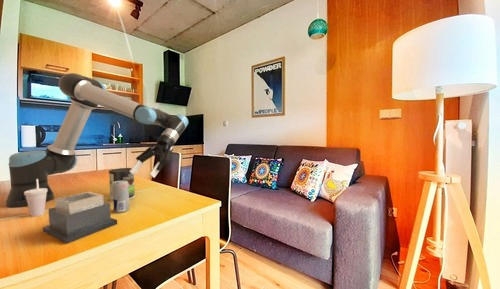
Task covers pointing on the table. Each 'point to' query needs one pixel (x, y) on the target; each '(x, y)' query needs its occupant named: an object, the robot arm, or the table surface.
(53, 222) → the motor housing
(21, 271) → the table surface
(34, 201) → the smoothie
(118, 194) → the energy drink
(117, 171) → the coffee can
